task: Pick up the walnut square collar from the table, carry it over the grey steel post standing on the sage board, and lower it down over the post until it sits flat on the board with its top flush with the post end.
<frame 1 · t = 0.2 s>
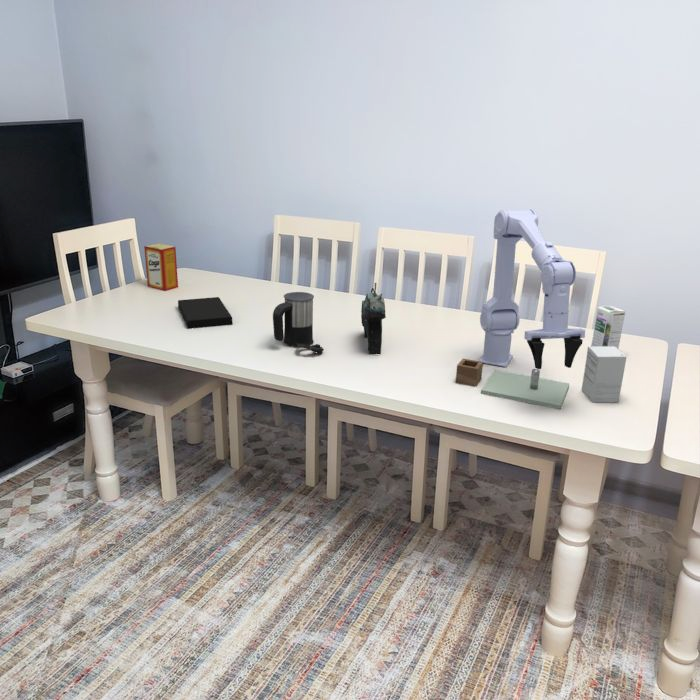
hand: (553, 367, 167), 10 cm above the table, tool pointing down, fingers open, 7 cm apart
sage board: (525, 390, 180), on the table
supplement box: (599, 397, 178), on the table
walnut collar: (468, 380, 185), on the table
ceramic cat: (370, 345, 209), on the table
syrup box: (603, 355, 206), on the table
external hard drive: (204, 317, 231), on the table
milk frother: (304, 347, 206), on the table
grey steel post: (533, 391, 179), resting on sage board
baking soda box: (163, 287, 261), on the table
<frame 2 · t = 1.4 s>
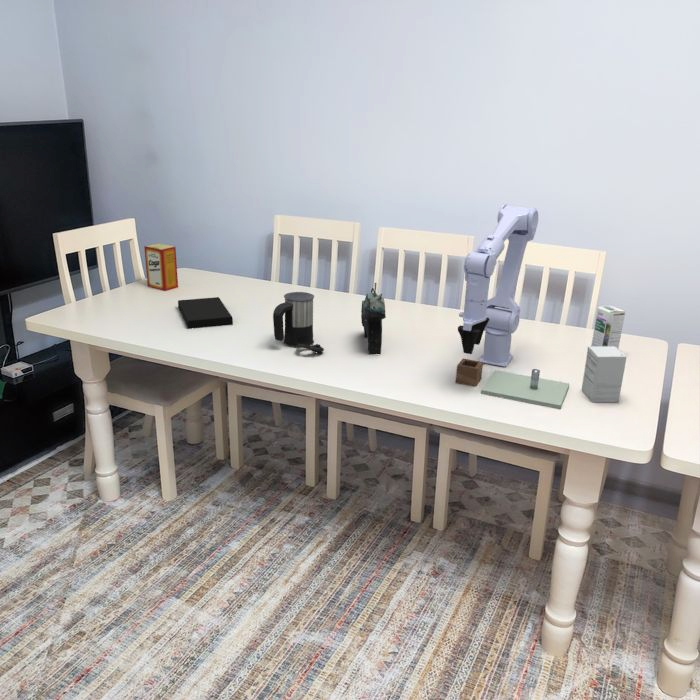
hand: (471, 348, 181), 9 cm above the table, tool pointing down, fingers open, 7 cm apart
nothing on the table moved.
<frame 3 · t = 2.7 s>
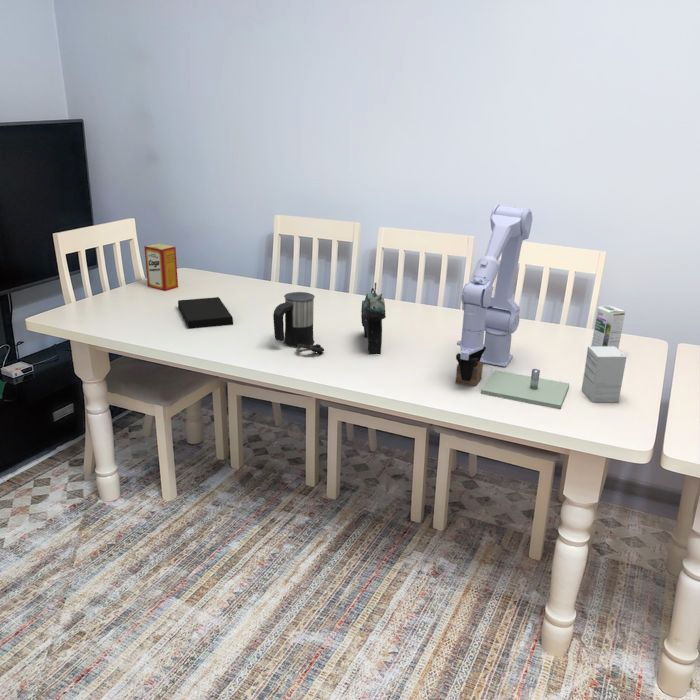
hand: (469, 376, 184), 1 cm above the table, tool pointing down, fingers closed on walnut collar, 6 cm apart
walnut collar: (468, 380, 185), on the table, touching gripper
everything else where it was.
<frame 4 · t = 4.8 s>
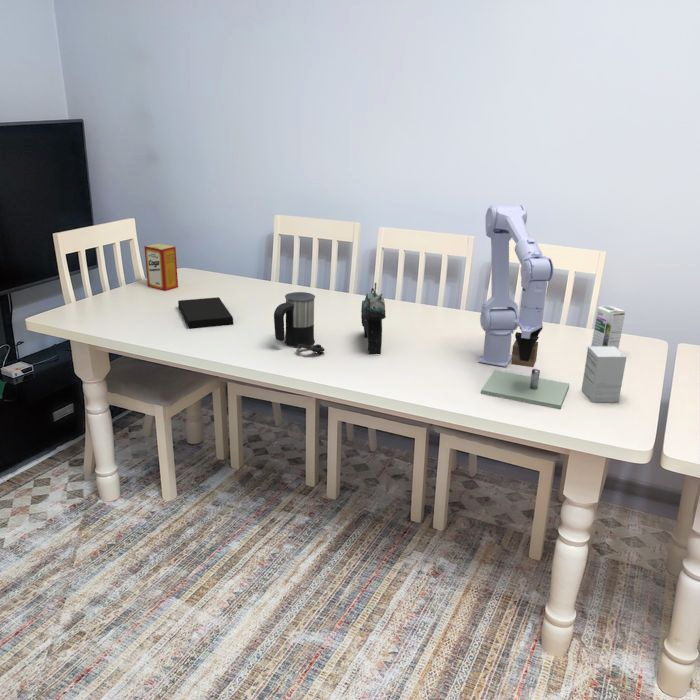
hand: (526, 356, 177), 9 cm above the table, tool pointing down, fingers closed on walnut collar, 6 cm apart
walnut collar: (523, 362, 177), point 8 cm above the table, touching gripper
everything else where it was.
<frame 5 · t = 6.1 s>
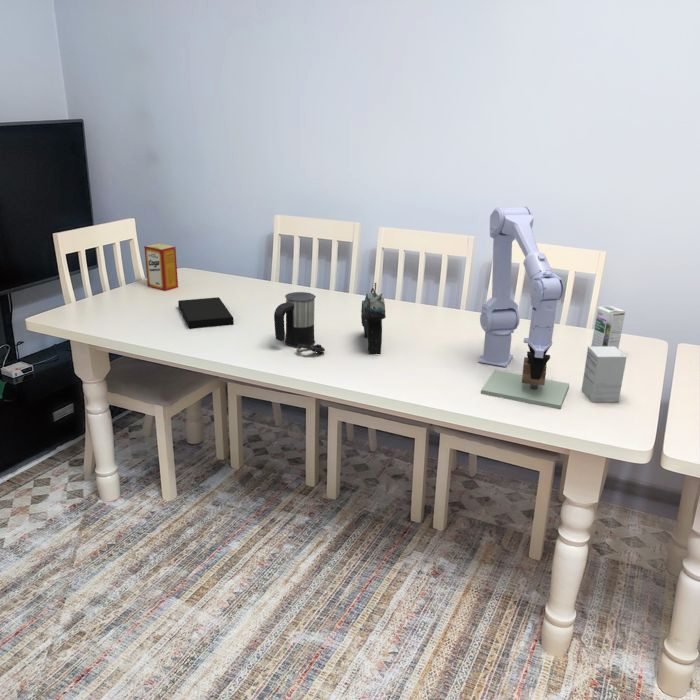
hand: (535, 374, 177), 5 cm above the table, tool pointing down, fingers closed on walnut collar, 6 cm apart
walnut collar: (533, 379, 178), point 3 cm above the table, touching gripper
everything else where it was.
when the fingers open (3 cm above the table, at t = 7.1 s): walnut collar stays where it is, resting on sage board.
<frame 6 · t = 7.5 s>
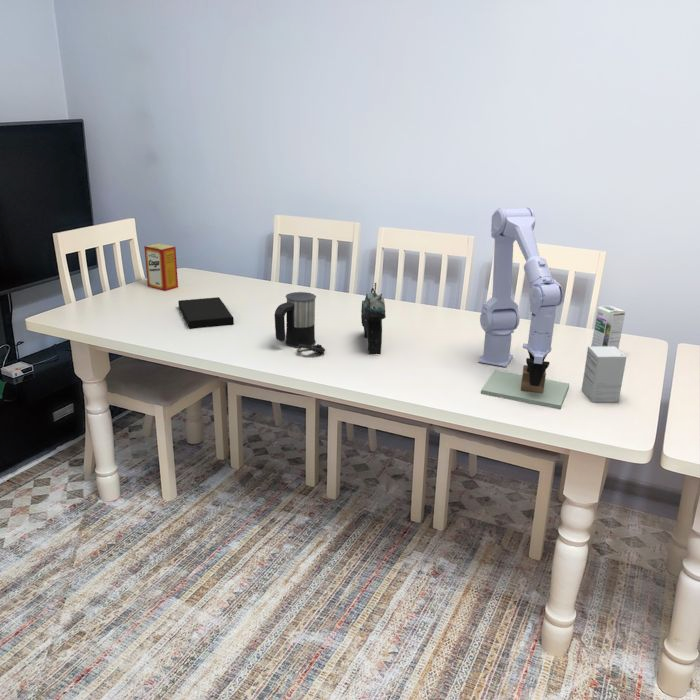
hand: (534, 379, 178), 3 cm above the table, tool pointing down, fingers open, 7 cm apart
walnut collar: (532, 387, 179), point 1 cm above the table, touching sage board
everything else where it was.
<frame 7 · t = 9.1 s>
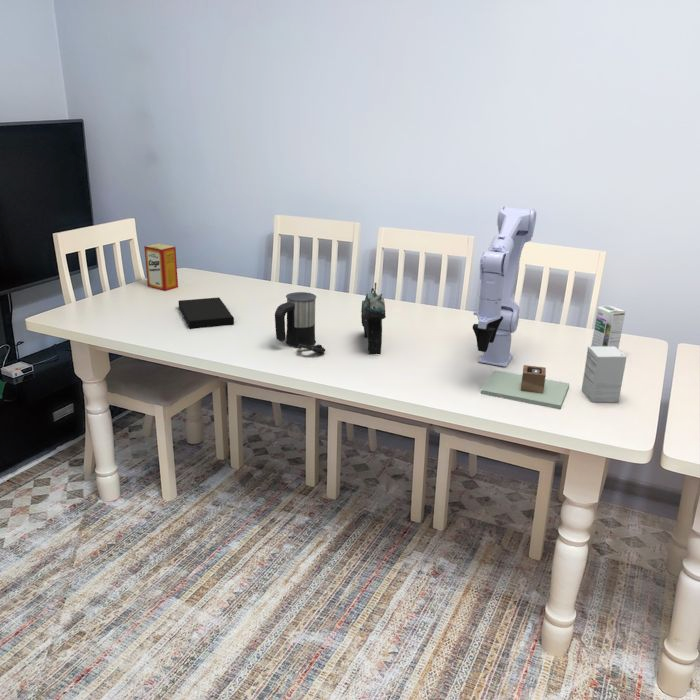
hand: (485, 346, 183), 9 cm above the table, tool pointing down, fingers open, 7 cm apart
nothing on the table moved.
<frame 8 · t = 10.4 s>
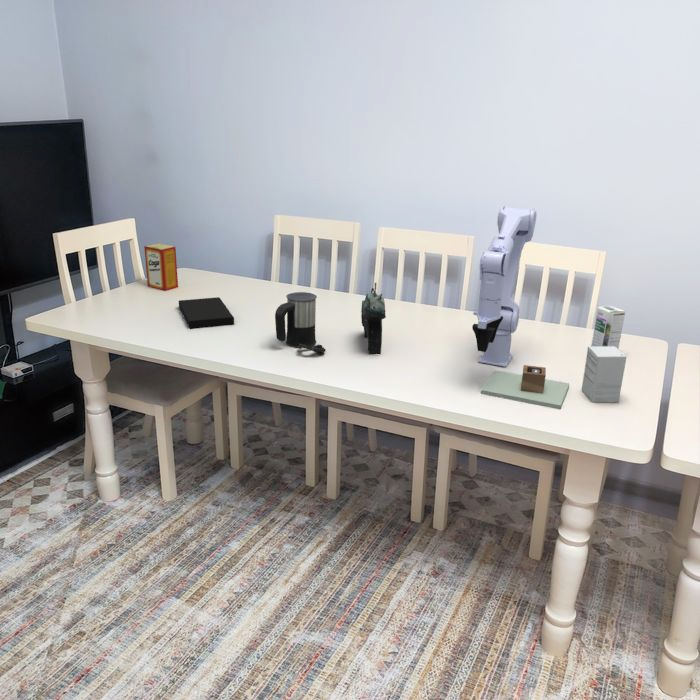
hand: (485, 346, 183), 9 cm above the table, tool pointing down, fingers open, 7 cm apart
nothing on the table moved.
at the end: walnut collar 0.4 cm off-centre on the grey steel post, point 1.0 cm above the grey steel post's base; walnut collar tilted 0°; the gripper is holding nothing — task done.
